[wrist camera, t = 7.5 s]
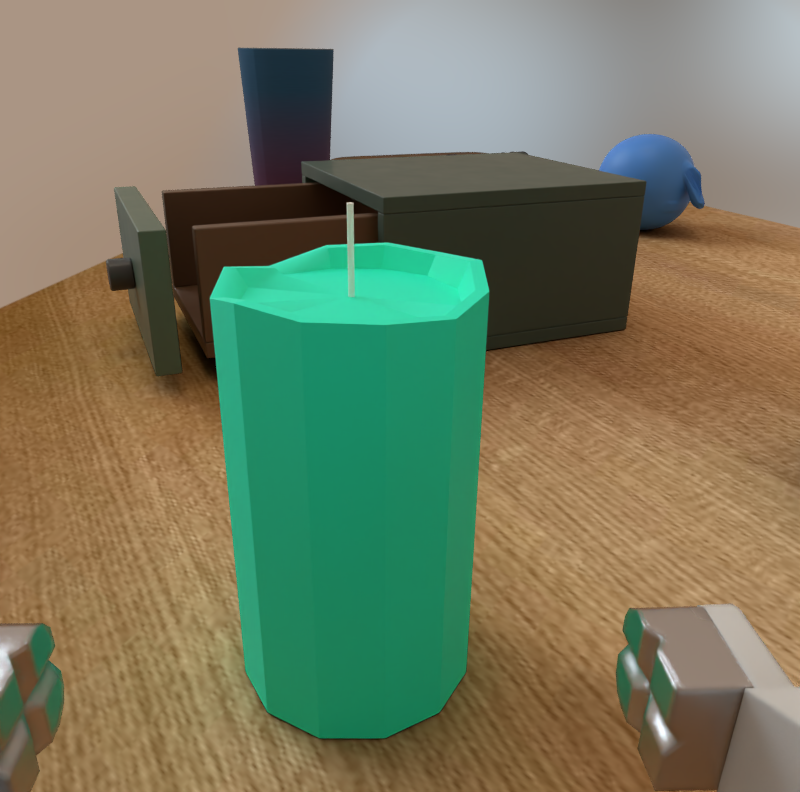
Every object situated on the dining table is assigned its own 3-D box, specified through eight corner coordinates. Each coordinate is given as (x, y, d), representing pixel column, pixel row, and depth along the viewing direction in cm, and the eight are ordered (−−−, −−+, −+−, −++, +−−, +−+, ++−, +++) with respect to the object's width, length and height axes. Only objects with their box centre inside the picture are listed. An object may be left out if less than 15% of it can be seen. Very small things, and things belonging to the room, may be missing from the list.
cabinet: (383, 366, 39) (383, 197, 36) (306, 294, 51) (301, 161, 47) (626, 329, 45) (647, 181, 42) (508, 272, 56) (516, 152, 53)
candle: (429, 567, 24) (442, 177, 19) (502, 712, 19) (546, 225, 14) (236, 599, 23) (196, 185, 18) (257, 766, 17) (207, 242, 12)
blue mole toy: (742, 230, 71) (760, 135, 68) (667, 247, 65) (683, 143, 61) (635, 210, 80) (647, 125, 76) (559, 222, 73) (568, 131, 70)
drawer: (129, 380, 35) (107, 233, 32) (108, 304, 45) (91, 188, 43) (435, 338, 41) (440, 209, 38) (355, 279, 51) (354, 175, 48)
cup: (290, 240, 65) (281, 48, 59) (354, 252, 62) (352, 49, 55) (233, 256, 60) (217, 47, 54) (300, 269, 56) (291, 48, 50)
